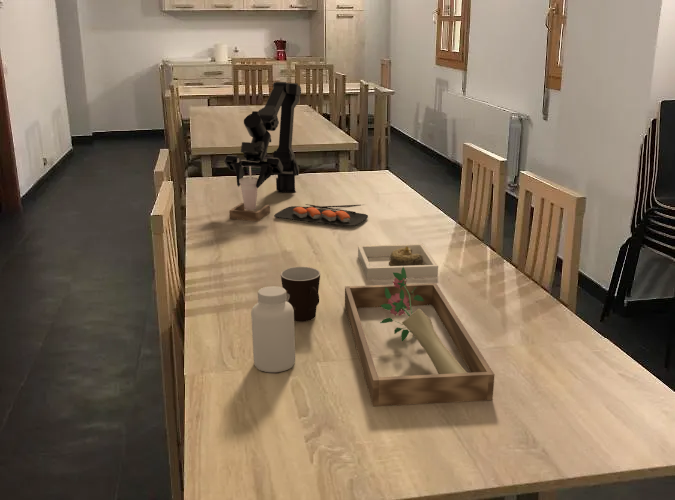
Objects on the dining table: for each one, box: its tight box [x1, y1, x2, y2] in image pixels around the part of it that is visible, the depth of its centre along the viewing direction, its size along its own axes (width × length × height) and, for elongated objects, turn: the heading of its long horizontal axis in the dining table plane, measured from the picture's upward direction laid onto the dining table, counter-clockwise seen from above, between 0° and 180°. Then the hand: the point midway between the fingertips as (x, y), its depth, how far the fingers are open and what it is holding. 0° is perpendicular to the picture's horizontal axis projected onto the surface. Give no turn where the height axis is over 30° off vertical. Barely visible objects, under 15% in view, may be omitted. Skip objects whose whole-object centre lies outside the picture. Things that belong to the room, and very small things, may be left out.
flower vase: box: [379, 267, 468, 374], centre depth 139 cm, size 12×12×35 cm
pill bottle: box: [250, 285, 296, 373], centre depth 134 cm, size 8×8×15 cm
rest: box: [228, 202, 271, 222], centre depth 232 cm, size 10×10×3 cm
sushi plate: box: [273, 203, 369, 228], centre depth 236 cm, size 29×30×4 cm
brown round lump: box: [388, 246, 426, 266], centre depth 188 cm, size 10×10×5 cm
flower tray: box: [344, 282, 495, 407], centre depth 142 cm, size 21×43×5 cm, turn 6°
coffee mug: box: [280, 266, 321, 323], centre depth 154 cm, size 12×9×10 cm
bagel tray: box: [357, 243, 439, 281], centre depth 187 cm, size 18×18×3 cm
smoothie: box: [239, 166, 259, 211], centre depth 230 cm, size 6×6×14 cm
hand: (247, 186), depth 229 cm, fingers closed on smoothie, 6 cm apart
